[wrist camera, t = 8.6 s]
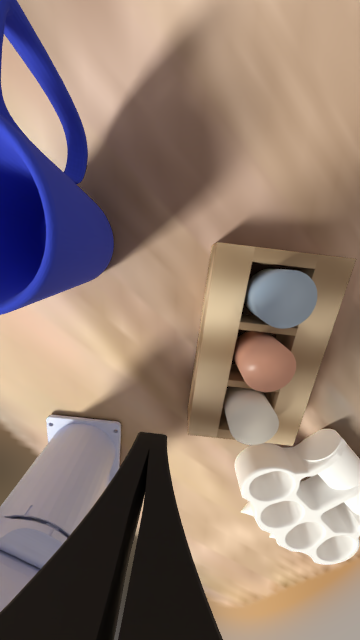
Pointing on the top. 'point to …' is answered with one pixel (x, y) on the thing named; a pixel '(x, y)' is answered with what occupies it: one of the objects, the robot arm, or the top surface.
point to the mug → (44, 191)
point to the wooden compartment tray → (226, 318)
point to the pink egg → (263, 361)
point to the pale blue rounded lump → (281, 297)
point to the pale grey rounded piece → (249, 415)
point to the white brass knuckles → (305, 494)
